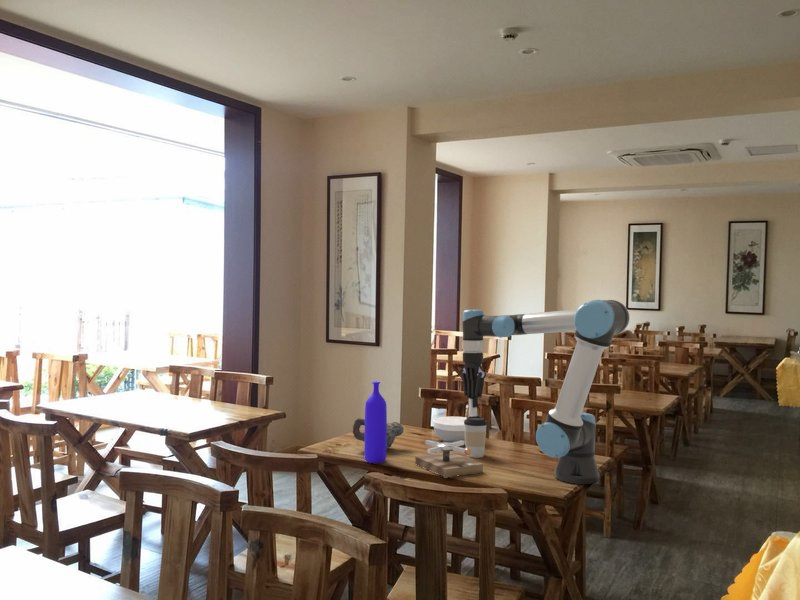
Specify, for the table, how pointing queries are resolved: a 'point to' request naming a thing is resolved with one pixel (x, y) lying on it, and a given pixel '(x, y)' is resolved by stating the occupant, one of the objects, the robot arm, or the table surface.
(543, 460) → the table surface
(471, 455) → the coffee cup
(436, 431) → the bowl
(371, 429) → the bottle
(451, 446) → the capstan
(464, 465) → the level stand
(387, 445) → the teapot
